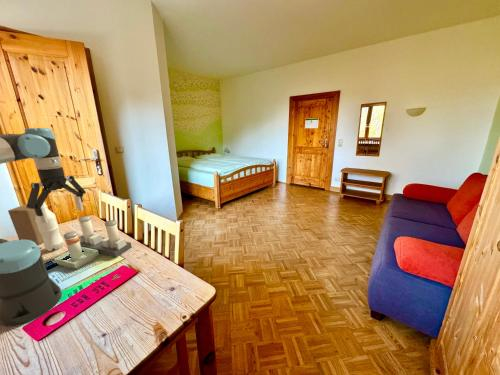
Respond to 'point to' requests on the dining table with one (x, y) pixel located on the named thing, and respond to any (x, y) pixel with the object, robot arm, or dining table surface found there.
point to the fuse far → (86, 228)
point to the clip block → (105, 245)
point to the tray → (88, 256)
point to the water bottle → (49, 230)
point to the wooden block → (26, 224)
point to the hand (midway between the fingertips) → (64, 215)
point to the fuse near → (112, 232)
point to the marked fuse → (74, 246)
